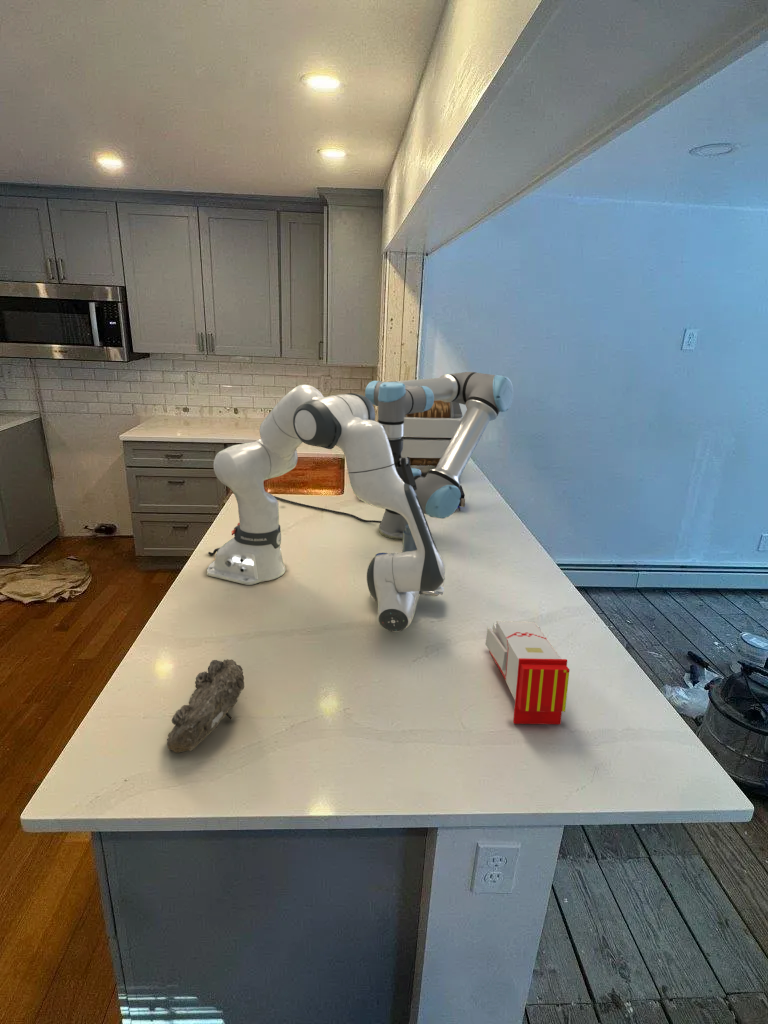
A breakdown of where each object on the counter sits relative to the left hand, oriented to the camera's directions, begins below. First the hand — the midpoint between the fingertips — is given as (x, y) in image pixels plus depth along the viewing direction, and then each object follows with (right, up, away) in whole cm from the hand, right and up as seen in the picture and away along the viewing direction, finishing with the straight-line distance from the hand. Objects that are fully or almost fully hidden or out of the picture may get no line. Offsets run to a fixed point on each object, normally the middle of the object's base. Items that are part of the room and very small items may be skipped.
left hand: (409, 568), depth 160 cm
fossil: (-40, -23, -52) cm, 69 cm away
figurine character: (+21, +18, +70) cm, 76 cm away
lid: (-7, +2, +17) cm, 19 cm away
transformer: (+10, +35, +115) cm, 121 cm away
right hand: (-6, +18, +12) cm, 22 cm away
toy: (+22, -21, -37) cm, 48 cm away
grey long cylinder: (0, -6, +1) cm, 6 cm away
